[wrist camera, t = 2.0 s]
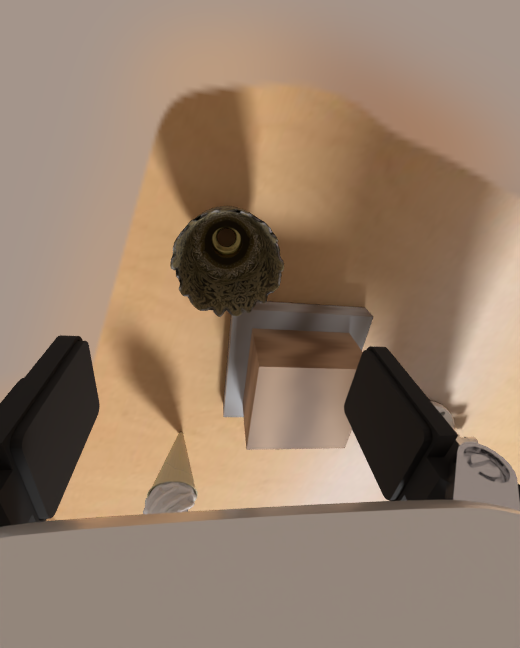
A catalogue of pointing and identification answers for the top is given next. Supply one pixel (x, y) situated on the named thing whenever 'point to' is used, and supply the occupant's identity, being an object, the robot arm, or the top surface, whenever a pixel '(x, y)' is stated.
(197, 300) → the cup
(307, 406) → the brown block on base
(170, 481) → the ice cream cone
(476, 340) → the top surface
